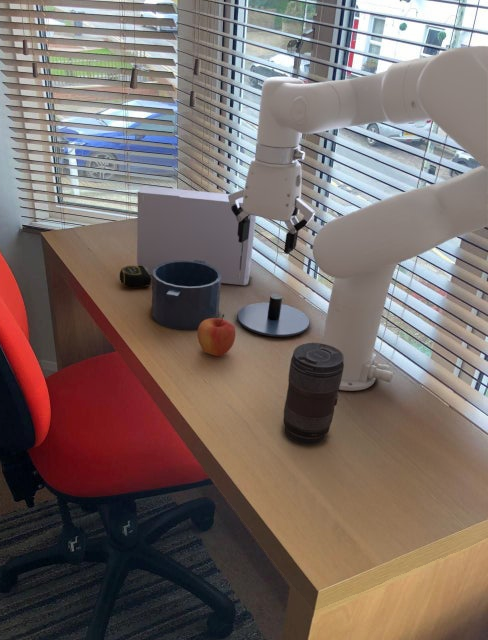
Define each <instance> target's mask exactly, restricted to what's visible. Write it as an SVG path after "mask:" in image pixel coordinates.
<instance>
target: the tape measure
mask: <svg viewBox="0 0 488 640" xmlns="http://www.w3.org/2000/svg"><path fill="white" fill-rule="evenodd" d="M119 282H120V283H121V285H123V286H124V287H127V288H132V289H139V288H142V287H144V288H145V287H147V286H150V285H152V275H149V274H148V273H147V271H146V270H145V268H144V267H143V266H138V265H127V266H124V267H122V268H121V269H120V271H119Z"/></svg>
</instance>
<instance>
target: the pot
mask: <svg viewBox="0 0 488 640" xmlns="http://www.w3.org/2000/svg"><path fill="white" fill-rule="evenodd" d="M221 287H222V283H221V273H220V272H219V271H218V270H217V269H216V268H214V267H212V266H210V265H208V264H205V261H199V260H194V261H171V262H166V263H163V264H160V265H158V266H156V267H155V268H154V269H153V275H151V317H152V319H153V320H154V321H155V322H157V323H158V324H160V325H161V326H164V327H167V328H169V329H175V330H184V331H193V330H198V328H199V325H200V324H201V323H202V322H203V321H204V320H206V319H210V318H218V317H219V311H220V310H219V309H220V300H221V299H220V298H221Z"/></svg>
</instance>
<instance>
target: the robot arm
mask: <svg viewBox="0 0 488 640" xmlns="http://www.w3.org/2000/svg"><path fill="white" fill-rule="evenodd" d="M260 92H261V95H260V103H259V113H258V124H257V134H256V144H255V152H254V153H255V154H254V157H253V158H251V161H250V164H249V166H248V167H249V168H248V171H247V173H246V174H247V175H246V179H245V184H244V189H241V190H238V191H235V192H233V193H229V194H230V195H229V196H228V199H229V202H230V205H231V210H232V211H233V213H234V214H235V216H236V219H237V221H238V222H239V223H238V236H239V240H238V242H240V243H242V242H244V241H245V240H247V239H248V238H249V228H250V219H248V217H249V216H250V215H254V216H256V217H258V218H264V219H268V220H272V221H278V222H283V223H284V224H285V226H286V228H287V229H288V232H286V234H285V242H284V249H283V253H284V254H286V255H288V254H291V252H292V251H294V250H295V249H296V247H297V242H298V235H299V231H300V230H301V229H303V228H304V227H306V226H307V225H308V224H309V223H310V221H311V220H312V219H313V218H314V216H315V214H316V210H314V209H313V208H312V207H311V206H309V205H308V204H307V203H306V202H304V200H303V199H302V179H303V177H302V164H301V163H300V162H299V160H302V161H304V160H305V157H306V152H305V151H302V150H300V147H301V145H300V141H301V140H300V139H301V134H305V135H313V134H317V133H318V134H319V133H323V132H329V131H332V130H338V129H339V130H340V129H346V128H349V127H356V126H357V127H358V126H364V125H370V124H376V123H390V124H391V125H395V126H396V125H398V126H399V125H406V124H413V123H419V122H427V121H432V122H433V124H435V125H436V126H437V127H438V128H439V129H440V130H441V131H442V132H443V133H445V134H446V135H447V136H448V137H449V138H450V139H452V140H453V141H454V142H455V143H456V144H457V145H458V146H459V147H460V148H462V149H463V151H465V152H466V153H467V154H468V155H469V156H471V158H473V159H474V160H475V161H476V162H477V163H479V164H480V165H479V166H477V167H474V168H472V169H470V170H468V171H466V172H463V173H461V174H457V175H456V176H453V177H450V178H448V179H445V180H443V181H440V182H437V183H433V184H430V185H425V186H420V187H416V188H412V189H409V190H406V191H403V192H400V193H397V194H394V195H391V196H388V197H386V198H384V199H381V200H379V201H376V202H373V203H371V204H368V205H365V206H363V207H361V208H359V209H356V210H353V211H351V212H349V213H347V214H343V215H342V216H339V217H336V218H334V219H331V220H330V221H328V222H327V223H325V224H323V225H322V226H321V228H319V230H318V232H316V235H315V237H314V240H313V243H312V257H313V260H314V262H315V264H316V266H317V268H319V270H320V271H322V272H323V273H324V274H326V275H327V276H329V277H332V278H334V280H333V284H332V287H331V292H330V297H329V302H328V308H327V313H326V318H325V323H324V329H323V335H322V339H321V344H326V345H329V346H332V347H334V348H336V349H338V350H339V351H340V352H341V353H342V354H343V356H344V360H343V363H344V368H343V373H342V378H341V383H340V386H339V390H340V391H345V392H346V391H347V392H348V391H349V392H353V391H354V392H355V391H363V390H366V389H368V388H370V387H371V386H373V385H374V383H375V382H376V379H378V380H381V381H384V382H387V383H392V380H393V376H394V372H393V371H390V368H391V366H390V365H388V364H381V363H379V362H378V361H376V357H377V354H376V353H374V350H375V346H376V342H377V337H378V334H379V330H380V325H381V321H382V317H383V312H384V309H385V305H386V302H387V298H388V294H389V290H390V287H391V282H392V279H393V276H394V274H395V271H396V268H397V266H398V264H400V263H402V262H406V261H408V260H411V259H413V258H417V257H418V256H421V255H423V254H424V253H426V252H429V251H431V250H433V249H435V248H437V247H439V246H441V245H442V244H444V243H446V242H448V241H450V240H453V239H456V238H458V237H461V236H463V235H466V234H470V233H473V232H476V231H478V230H482V229H484V228H486V227H488V45H475V46H462V47H461V46H460V47H453V48H448V49H446V50H443V51H441V52H439V53H437V54H434V55H429V56H425V57H419V58H414V59H409V60H404V61H399V62H395V63H392V64H391V65H389V67H388V68H387V70H385V71H382V72H378V73H377V72H376V73H374V74H373V73H372V74H368V75H363V76H357V77H353V78H347V79H340V80H339V79H338V80H329V81H321V82H320V81H318V82H313V83H312V82H311V83H305V82H304V80H302V79H300V78H297V77H290V76H270V77H267V78H266V79H265V80H264V81H263V83H262V87H261V91H260ZM242 197H243V209H242V207H241V206H240V204H239V203H238V199H239V198H242ZM300 212H301V213H302V214H303V217H302V218H301V220H300V221H299V219H298V218H297V216H298V215H299V214H300ZM339 390H338V391H339Z"/></svg>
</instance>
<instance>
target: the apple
mask: <svg viewBox="0 0 488 640" xmlns="http://www.w3.org/2000/svg"><path fill="white" fill-rule="evenodd" d="M224 316H225V314H224V313H223V314H222V317H221V318H218V317H217V318H210V319H206V320H204V321H203V322H202V323H201V324H200V325H199V328H198V329H197V335H196V336H197V341H198V344H199V346H200V348H201V350H203V352H204V353H206V354H209V355H212V356H215V357H222V356H224V355H225V354H227V353H228V352H229V351H230V350H231V348H232V347H233V345H234V343H235V341H236V328H235V326H234V324H233V323H231V322H230V321H228V320H226V319H224Z"/></svg>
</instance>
